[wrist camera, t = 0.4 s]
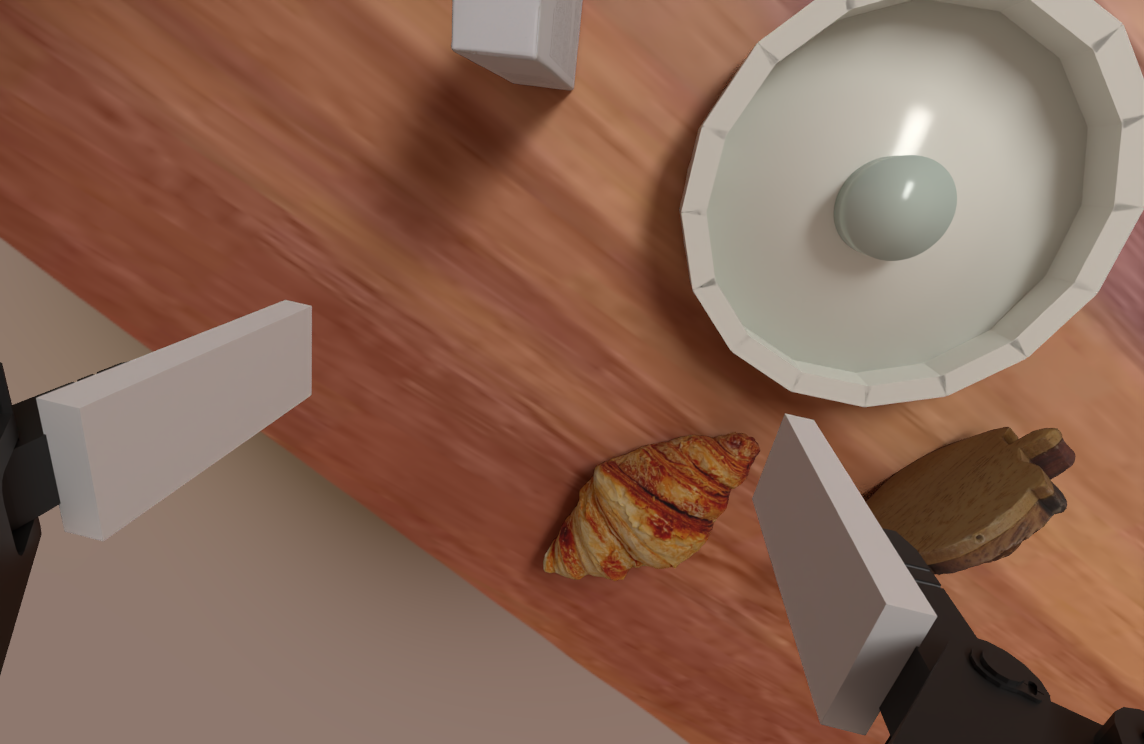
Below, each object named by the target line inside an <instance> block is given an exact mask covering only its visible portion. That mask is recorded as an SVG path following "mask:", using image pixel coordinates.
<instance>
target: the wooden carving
mask: <svg viewBox="0 0 1144 744" xmlns="http://www.w3.org/2000/svg"><path fill="white" fill-rule="evenodd" d="M1074 461H1075V453H1074V451H1073V450H1072V449H1071V448H1070V447H1069V446H1068V445H1067V444H1066V443H1065V442H1064V440H1063V438H1062V434H1061V432H1060V431H1059V430H1058V429H1056V428H1044V429H1040V430H1036V431H1033V432H1031V433H1029V434H1027V435H1025V436H1023V437H1022V438H1020V439H1018V437H1017V435H1016V434H1015V433H1014V432H1013V431H1012V429H1011V428H1009V427H1003V428H999V429H994V430H990V431H987V432H984V433H981V434H978V435H975V436H972V437H969V438H966V439H963V440H960V441H958V442H955V443H952V444H949V445H947V446H944V447H942V448H940V449H938V450H935V451H933V452H931V453H929V454H927V455H925V456H923V457H922V458H920V459H918V460H916V461H915V462H913V463H911V464H910V465H908V466H906V467H905V468H903V469H902V470H900V471H899V472H898V473H896V474H895V475H894V476H892V477H891V478H890V479H888V480H887V481H886V482H885V483H884V484H883V485H882V486H881V487H880V488H879V489H878V490H877V491H876V492H875V493H874V494H873V495H872V496H871V497H870V498H869V499H868V500H867V501H865V502H866V504H867V505H868V507H869V508H870V510H871V512H872V513H873V515H874V516H875V518H876V520H877V521H878V523H879V524H880V526H881V528H884V529H889V530H893V531H896V532H897V533H899V534H900V535H901V536H902V537H903V538H904V539H905V540H906V541H908V542H909V543H910V544H911V545H912V546H913V547H914V548H915V549H917V551H918V552H919V554H920V555H921V556H922V558H923V559H924V561H925V562H926V564H927V565H928V567H929V568H930V572H932V573H933V574H938V575H940V574H949V573H955V572H958V571H961V570H965V569H967V568H970V567H974V566H978V565H980V564H983V563H989V562H992V561H996V560H999V559H1001V558H1004V557H1006V556H1009V555H1010V554H1012V553H1013V552H1014V551H1015V550H1016V549H1017V548H1018V547H1019V546H1020V544H1021V542H1022V541H1024V540H1026V539H1028V538H1030V536H1031V535H1032V534H1034V533H1035V532H1037V531H1038V530H1040V529H1041V528H1042V527H1044V526H1045V524H1046V523H1047V521H1049V519H1050V518H1051V517H1052V516H1053V515H1054V514H1058V513H1062V512H1064V510H1065V509H1066V507H1067V501H1066V499H1065V497H1064V495H1063V493H1062V492H1061V491H1060V490H1059V489H1058V488H1057V487H1056V486H1055V485H1054V484H1053V483H1052V482H1051V479H1052V478H1054V477H1056V476H1058V475H1059V474H1061V473H1062V472H1064V471H1065V470H1066V469H1068V468H1069V467H1071V466H1072V465H1073V463H1074Z"/></svg>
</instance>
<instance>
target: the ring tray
mask: <svg viewBox="0 0 1144 744" xmlns="http://www.w3.org/2000/svg"><path fill="white" fill-rule="evenodd" d="M1122 24H1123V23H1121V22H1120V21H1119V20H1118V19H1116V18H1115V17H1114V16H1113V15H1111V14H1110V13H1109V12H1108V11H1106V10H1105V9H1104V8H1102V7H1101V6H1100V5H1099V4H1097V3H1096V2H1095V1H1094V0H814V1H813V2H812V3H810V4H809V5H808V6H806V7H805V8H803V9H802V10H801V11H799V12H798V13H797V14H795V15H794V16H793V17H791V18H790V19H789V20H787V21H786V22H785V23H783V24H782V25H781V26H779V27H778V28H777V29H775V30H774V31H773V32H771V33H770V34H769V35H767V36H766V37H764V38H763V39H762V40H760V41H759V42H758V43H757V44H756V45H755V46H754V48H753V49H752V50H751V51H750V52H749V54H748V55H747V57H746V58H745V60H744V61H743V63H742V64H741V66H740V67H739V69H738V70H737V72H736V73H735V75H734V76H733V78H732V79H731V81H730V82H729V84H728V85H727V87H726V88H725V89H724V91H723V92H722V93H721V95H720V97H719V98H718V100H717V102H716V103H715V105H714V106H713V108H712V109H711V111H710V112H709V114H708V115H707V117H706V118H705V120H704V121H703V123H702V124H701V126H700V127H699V129H698V133H697V137H696V141H695V145H694V150H693V154H692V157H691V161H690V164H689V167H688V171H687V176H686V182H685V187H684V191H683V195H682V200H681V204H680V208H679V209H680V210H679V212H680V218H681V225H682V232H683V240H684V248H685V252H686V259H687V265H688V272H689V279H690V284H691V286H692V289H693V291H694V293H695V295H696V296H697V298H698V299H699V301H700V303H701V304H702V306H703V307H704V309H705V311H706V312H707V314H708V315H709V317H710V319H711V320H712V322H713V323H714V325H715V326H716V328H717V330H718V331H719V333H720V334H721V336H722V338H723V339H724V341H725V342H726V344H727V346H728V347H729V349H730V350H731V351H732V352H733V353H734V354H736V355H737V356H739V357H740V358H742V359H743V360H745V361H746V362H748V363H749V364H751V365H752V366H754V367H755V368H757V369H758V370H760V371H761V372H762V373H764V374H765V375H767V376H768V377H770V378H771V379H773V380H774V381H776V382H777V383H779V384H780V385H782V386H783V387H785V388H786V389H788V390H789V391H791V392H795V393H800V394H805V395H809V396H814V397H819V398H824V399H828V400H833V401H838V402H842V403H847V404H852V405H857V406H861V407H864V406H865V407H870V406H878V405H885V404H893V403H900V402H908V401H915V400H923V399H930V398H938V397H945V396H948V395H950V394H952V393H954V392H957V391H959V390H961V389H963V388H965V387H967V386H969V385H971V384H973V383H976V382H978V381H980V380H982V379H984V378H986V377H988V376H990V375H992V374H995V373H997V372H999V371H1001V370H1003V369H1005V368H1007V367H1009V366H1011V365H1014V364H1016V363H1018V362H1020V361H1022V360H1024V359H1026V358H1027V357H1029V356H1030V355H1031V354H1032V353H1033V352H1034V351H1035V350H1037V349H1038V348H1039V347H1040V346H1041V345H1042V344H1043V343H1044V342H1045V341H1046V340H1047V339H1048V338H1050V337H1051V336H1052V335H1053V334H1054V333H1055V332H1056V331H1057V330H1058V329H1059V328H1060V327H1061V326H1063V325H1064V324H1065V323H1066V322H1067V321H1068V320H1069V319H1070V318H1071V317H1072V316H1073V315H1074V314H1076V313H1077V312H1078V311H1079V310H1080V309H1081V308H1082V307H1083V306H1084V305H1085V304H1086V303H1087V302H1089V301H1090V300H1091V299H1092V298H1093V297H1094V296H1095V295H1096V294H1097V293H1096V292H1099V290H1100V288H1101V286H1102V284H1103V282H1104V281H1105V279H1106V277H1107V275H1108V273H1109V272H1110V270H1111V268H1112V266H1113V264H1114V262H1115V261H1116V259H1117V257H1118V255H1119V253H1120V251H1121V250H1122V248H1123V246H1124V244H1125V242H1126V240H1127V239H1128V237H1129V235H1130V233H1131V231H1132V229H1133V228H1134V226H1135V224H1136V222H1137V220H1138V218H1139V217H1140V215H1141V213H1142V211H1143V209H1144V208H1143V207H1144V78H1143V75H1142V73H1141V70H1140V67H1139V65H1138V62H1137V59H1136V57H1135V54H1134V51H1133V49H1132V46H1131V43H1130V41H1129V38H1128V35H1127V33H1126V30H1125V27H1124V25H1122Z"/></svg>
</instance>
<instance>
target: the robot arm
mask: <svg viewBox="0 0 1144 744" xmlns="http://www.w3.org/2000/svg"><path fill="white" fill-rule="evenodd" d="M311 372H312V306H309V305H305V304H301V303H296V302H292V301H287V300H284V301H282V302H279V303H277V304H274V305H272V306H269V307H266V308H264V309H261V310H259V311H256V312H254V313H251V314H249V315H246V316H243V317H241V318H238V319H236V320H233V321H231V322H228V323H226V324H223V325H221V326H218V327H215V328H213V329H210V330H208V331H205V332H203V333H200V334H198V335H195V336H192V337H190V338H187V339H185V340H182V341H180V342H177V343H175V344H172V345H170V346H167V347H164V348H162V349H159V350H157V351H154V352H152V353H149V354H147V355H144V356H141V357H139V358H136V359H134V360H131V361H128V362H123V363H120V364H117V365H114V366H112V367H109V368H107V369H104V370H101V371H99V372H97V374H96V375H94V374H91V375H89V376H86V377H84V378H81V379H79V380H77V382H71V383H68V384H65V385H63V386H60V387H58V388H55V389H53V390H50V391H48V392H45V393H42V394H40V395H37V396H35V397H32V398H29V399H27V400H24V401H22V402H19V403H17V404H14V405H12V403H11V399H10V395H9V390H8V386H7V382H6V378H5V373H4V369H3V366H2V363H1V362H0V674H1V671H2V667H3V663H4V660H5V657H6V654H7V650H8V646H9V643H10V640H11V636H12V633H13V630H14V626H15V622H16V619H17V616H18V613H19V609H20V606H21V602H22V599H23V595H24V592H25V588H26V585H27V582H28V578H29V575H30V572H31V568H32V565H33V561H34V558H35V554H36V551H37V548H38V544H39V541H40V537H41V527H40V522H39V518H38V516H40V515H42V514H44V513H45V512H47V511H49V510H50V509H52V508H54V507H55V506H57V505H59V508H60V512H61V517H62V522H63V526H64V531H65V532H69V533H73V534H77V535H81V536H85V537H89V538H93V539H96V540H100V541H104V540H106V539H107V538H109V537H110V536H112V535H113V534H115V533H116V532H117V531H119V530H120V529H122V528H123V527H125V526H126V525H127V524H129V523H130V522H132V521H133V520H134V519H136V518H137V517H139V516H140V515H142V514H143V513H144V512H146V511H147V510H149V509H150V508H151V507H153V506H154V505H156V504H157V503H159V502H160V501H161V500H163V499H164V498H165V497H167V496H168V495H170V494H171V493H173V492H174V491H176V490H177V489H179V488H180V487H181V486H183V485H184V484H186V483H187V482H188V481H190V480H191V479H193V478H194V477H196V476H197V475H198V474H200V473H201V472H203V471H204V470H206V469H207V468H208V467H210V466H211V465H213V464H214V463H215V462H217V461H218V460H220V459H221V458H222V457H224V456H225V455H227V454H228V453H230V452H231V451H232V450H234V449H235V448H237V447H238V446H239V445H241V444H242V443H244V442H245V441H247V440H248V439H250V438H251V437H252V436H254V435H255V434H257V433H258V432H260V431H261V430H262V429H264V428H265V427H267V426H268V425H269V424H271V423H272V422H274V421H275V420H277V419H278V418H279V417H281V416H282V415H284V414H285V413H287V412H288V411H289V410H291V409H292V408H294V407H295V406H296V405H298V404H299V403H301V402H302V401H304V400H305V399H306V398H308V397H309V396H311ZM752 500H753V503H754V506H755V510H756V513H757V516H758V520H759V523H760V526H761V530H762V533H763V536H764V539H765V543H766V546H767V549H768V553H769V556H770V559H771V563H772V566H773V569H774V572H775V576H776V579H777V582H778V586H779V589H780V592H781V596H782V599H783V602H784V605H785V609H786V612H787V615H788V619H789V622H790V625H791V629H792V632H793V635H794V638H795V642H796V645H797V648H798V652H799V655H800V658H801V662H802V665H803V668H804V671H805V675H806V678H807V681H808V685H809V688H810V691H811V695H812V698H813V701H814V704H815V708H816V711H817V714H818V718H819V721H820V724H822V725H826V726H830V727H834V728H838V729H842V730H846V731H850V732H854V733H858V734H862V735H866V734H867V732H868V730H869V729H870V727H871V725H872V724H873V722H874V720H875V719H876V717H877V716H878V714H879V712H880V711H881V714H882V716H883V719H884V721H885V723H886V726H887V728H888V730H889V733H890V736H889V738H888V740H887V741H886V743H885V744H1144V711H1142V710H1140V709H1133V708H1126V707H1123V708H1121V709H1119V710H1117V711H1115V712H1114V713H1113V714H1112V716H1111V717H1110V718H1109V719H1108V720H1107V722H1106V723H1105V724H1104V725H1101V724H1099V723H1096V722H1094V721H1092V720H1090V719H1088V718H1086V717H1084V716H1081V715H1079V714H1077V713H1075V712H1073V711H1071V710H1068V709H1066V708H1064V707H1062V706H1060V705H1058V704H1055V703H1053V702H1051V700H1050V695H1049V693H1048V692H1047V690H1046V689H1045V687H1044V685H1043V684H1042V682H1041V681H1040V680H1039V679H1038V678H1037V677H1036V676H1035V675H1034V674H1033V673H1032V672H1031V671H1030V670H1029V669H1028V668H1027V667H1026V666H1025V665H1024V664H1023V663H1022V662H1020V661H1019V660H1017V659H1016V658H1015V657H1013V656H1012V655H1011V654H1009V653H1008V652H1006V651H1005V650H1003V649H1001V648H999V647H997V646H995V645H993V644H991V643H989V642H987V641H984V640H981V639H978V638H977V637H976V635H975V634H974V633H973V631H972V630H971V628H970V627H969V625H968V624H967V622H966V621H965V619H964V618H963V616H962V615H961V613H960V612H959V611H958V609H957V608H956V606H955V605H954V603H953V602H952V600H951V599H950V597H949V596H948V594H947V593H946V592H945V590H944V589H942V588H940V586H941V584H940V583H939V581H938V580H937V578H936V577H935V575H934V574H933V573H932V572H930V568H929V567H928V565H927V564H926V562H925V561H924V559H923V558H922V556H921V555H920V554H919V552H918V551H917V549H915V548H914V547H913V546H912V545H911V544H910V543H909V542H908V541H906V540H905V539H904V538H903V537H902V536H901V535H900V534H899V533H897V532H896V531H893V530H889V529H884V528H881V526H880V524H879V523H878V521H877V520H876V518H875V516H874V515H873V513H872V512H871V510H870V508H869V507H868V505H867V504H866V502H865V500H864V499H863V497H862V496H861V494H860V493H859V491H858V489H857V488H856V486H855V485H854V483H853V481H852V480H851V478H850V477H849V475H848V473H847V472H846V470H845V469H844V467H843V466H842V464H841V462H840V461H839V459H838V458H837V456H836V454H835V453H834V451H833V450H832V448H831V446H830V445H829V443H828V442H827V440H826V439H825V437H824V435H823V434H822V432H821V431H820V429H819V427H818V426H817V424H816V423H815V421H814V420H812V419H807V418H803V417H798V416H794V415H790V414H785V415H784V417H783V420H782V422H781V425H780V428H779V430H778V433H777V435H776V438H775V441H774V443H773V446H772V448H771V451H770V454H769V456H768V459H767V461H766V464H765V467H764V469H763V472H762V475H761V477H760V480H759V482H758V485H757V488H756V490H755V493H754V495H753V498H752Z"/></svg>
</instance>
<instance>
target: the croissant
mask: <svg viewBox="0 0 1144 744" xmlns="http://www.w3.org/2000/svg"><path fill="white" fill-rule="evenodd" d="M759 452H760V448H759V446H758V443H757V442H756V441H755V439H754V438H753V437H748V436H747V435H746V434H744V433H736V432H733V433H730V434H727V435H724V436H721V435H720V436H717V437H714V438H711V437H707V436H699V435H689V436H684V437H680V438H676V439H673V440H671V441H668V442H661V443H657V444H650V445H646V446H642V447H640V448H639V449H637V450H635V451H632V452H630V453H628V454H626V455H623V456H619V457H616V458H613V459H611V460H610V461H606V462H604V463H602V464H600V465H598V466H596V468H595V471H594V475H593V476H592V477H591V479H590V480H589V481H588V482H587V483H586V484H585V485H584V486H583V487H582V488H581V489H580V492H579V496H580V500H579V502H578V504H577V506H576V507H575V508H574V510H573V511H572V513H571V515H570V516H568V517H567V518H566V520H565V521H564V523H563V524H562V527H561V530H560V532H559V535H558V537H556V538H555V539H554V540H553V542H552V545H551V546H550V548H549V549H548V551H547V553H546V554H545V557H544V560H543V569H544V571H545V572H548V573H554V572H556V573H558V574H560V575H561V576H565V577H567V578H571V579H578V580H580V579H581V578H582V577H584V576H585V575H587V574H590V575H593V576H599V577H605V578H607V579H612V580H613V581H616V580H619V579H621V580H623V579H624V578H625V576H626V574H627V572H628V571H629V570H630V569H631V568H632V567H635V568H639V567H641V566H650V567H654V568H657V569H663V568H669V567H673V568H676V567H677V566H678V565H679V564H680V563H681V562H683V561H685V560H686V559H688V558H689V557H690V556H692V555H693V554H694V553H695V552H697V551H698V550H699V549H700V548H701V547H702V546H703V545H704V543H705V542H706V541H707V540H708V537H709V536H710V533H711V530H712V528H713V524H714V522H715V521H716V519H717V518H718V517H719V516H720V515H721V514H722V513H723V512H724V511H725V509H726V508H727V504H728V500H729V499H728V498H729V494H730V491H731V489H734V488H736V487H737V486H739V485H740V484H742V483H743V482H744V480H745V479H746V478H747V476H748V473H749V470H750V467H751V465H752V463H753V462H754V460H755V457H756V456H757V455H758V454H759Z"/></svg>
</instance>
